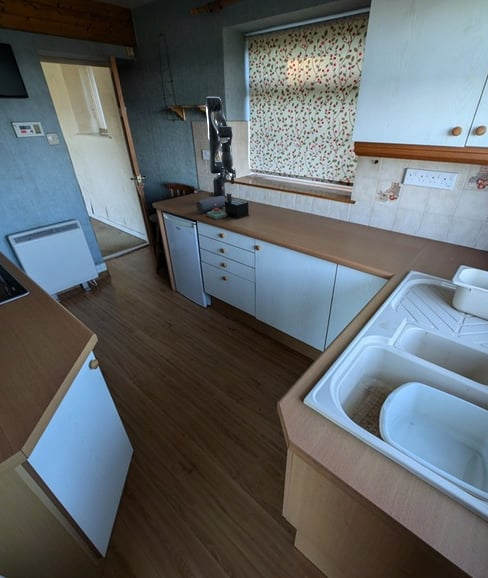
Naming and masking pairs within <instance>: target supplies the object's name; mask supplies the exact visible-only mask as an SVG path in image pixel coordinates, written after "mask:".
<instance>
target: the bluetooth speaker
mask: <svg viewBox="0 0 488 578" xmlns="http://www.w3.org/2000/svg"><path fill="white" fill-rule="evenodd" d="M225 201H227V197H226V198H225V197H224V196H218V197H214V196H212V197H208V198H204V199H201V200H197V202H196V209H197V211H198V212H199V213H205V212H206V213H207V212H211V211H212V210H214V208H219V209H222V208H225Z"/></svg>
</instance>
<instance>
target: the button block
mask: <svg viewBox="0 0 488 578" xmlns="http://www.w3.org/2000/svg"><path fill="white" fill-rule="evenodd" d="M206 216H207V217H210V218H212V219H214V220H219V219H223V218H226V217H228V215H227V213H225V212H224V211H222V209H219V211H214V210H212V211H211V212H206Z"/></svg>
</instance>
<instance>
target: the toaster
mask: <svg viewBox="0 0 488 578" xmlns="http://www.w3.org/2000/svg"><path fill="white" fill-rule="evenodd" d="M231 199H232V198H231ZM224 211H225V212H224V213H227V217H231V218H233V219H236V220H238V219H242V218H246V217H249V216H250V213H249V201H246V200H242V199H239V198H233V199H232V201H227V200H226V201H225V207H224Z"/></svg>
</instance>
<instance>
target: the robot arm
mask: <svg viewBox="0 0 488 578" xmlns="http://www.w3.org/2000/svg"><path fill="white" fill-rule="evenodd" d="M205 110H206V112H205V113H206V121H207V137H208V150H209V170H210V171H209V172H210V173H211V174H213V175H217V176H215V177H213V179H212V185H213V191H211V192H210V194H209V195H210V196H212V197H218V196H224V197H225V198H226V199H227V195H226V183H227V175H228V177H229V178H230V184H231V185H234V184H235V178H237V174H236V173H237V172H236V168H233V166H234V161H233V159H234V158H233V151H232V142H233V137H234V129H233V127H232V126H231V125H228V121H227V119H226V116H225V111H224V106H223V102H222V99H221V98H220V97H219V96H206V98H205ZM213 113H216V115H215V118H213ZM222 139H226V140H225V141H223V142H222ZM219 148H220V153H221V155H220V157H221V160H216V156H217V153H218V151H219Z"/></svg>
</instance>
